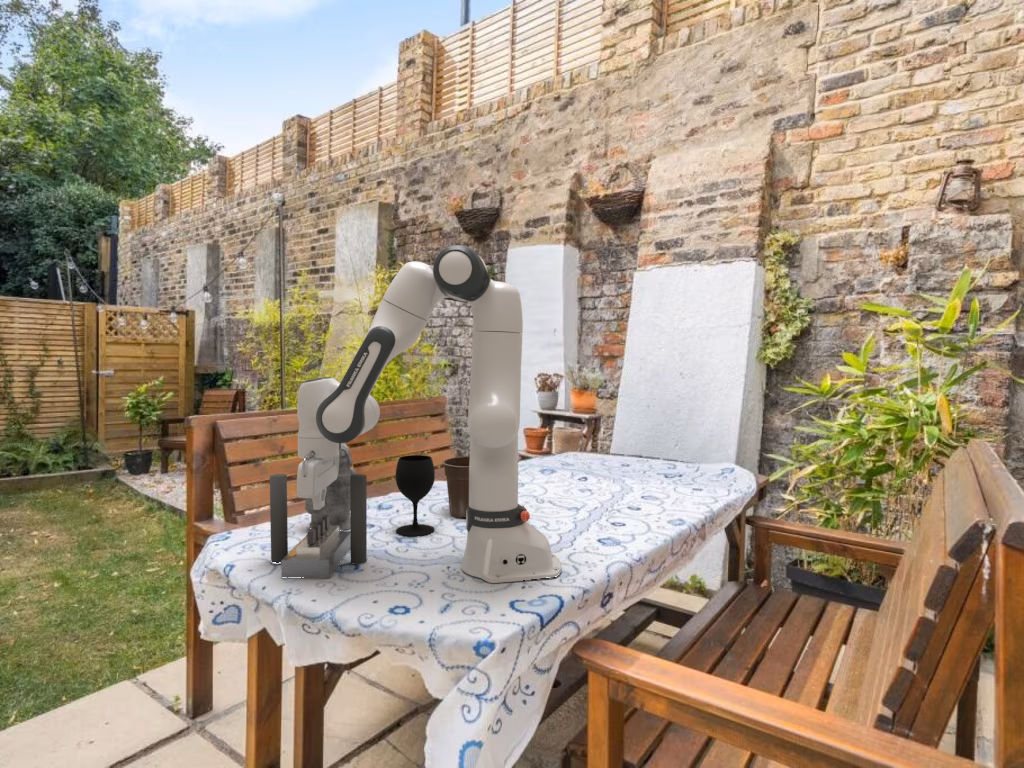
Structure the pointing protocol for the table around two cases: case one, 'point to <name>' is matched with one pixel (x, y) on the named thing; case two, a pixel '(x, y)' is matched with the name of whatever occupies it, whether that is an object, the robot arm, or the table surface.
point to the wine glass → (415, 488)
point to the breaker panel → (317, 562)
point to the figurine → (336, 495)
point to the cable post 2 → (358, 518)
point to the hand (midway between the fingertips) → (319, 508)
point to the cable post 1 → (278, 517)
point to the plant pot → (457, 484)
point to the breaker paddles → (318, 529)
